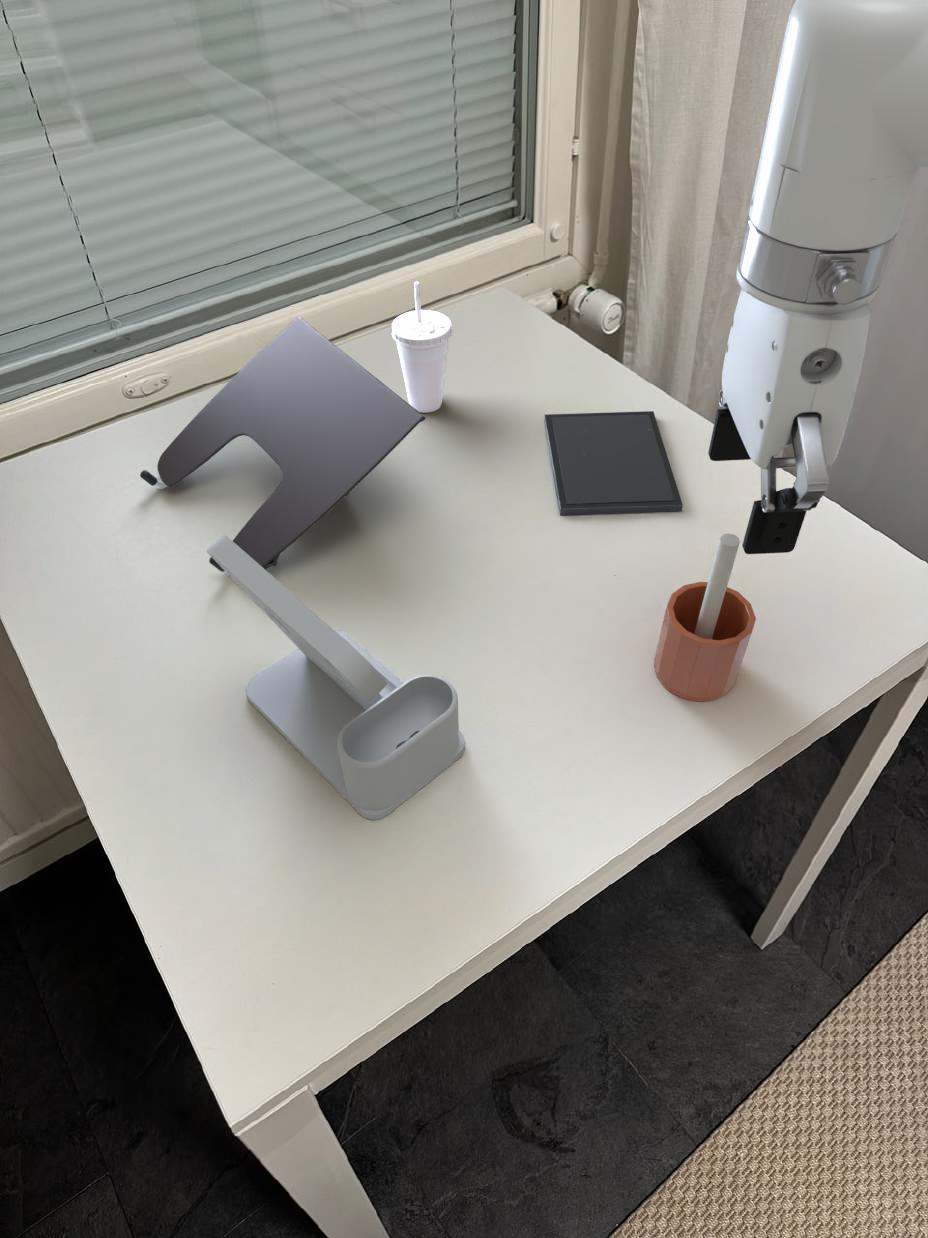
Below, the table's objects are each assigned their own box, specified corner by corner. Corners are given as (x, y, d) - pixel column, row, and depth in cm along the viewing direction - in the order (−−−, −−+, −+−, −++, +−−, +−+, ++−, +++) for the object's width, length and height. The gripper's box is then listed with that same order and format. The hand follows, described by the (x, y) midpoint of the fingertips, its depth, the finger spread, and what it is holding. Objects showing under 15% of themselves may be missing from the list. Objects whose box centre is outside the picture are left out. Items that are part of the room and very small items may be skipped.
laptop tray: (182, 504, 98) (124, 457, 90) (331, 359, 99) (287, 300, 91) (284, 627, 85) (227, 585, 78) (454, 460, 86) (415, 402, 78)
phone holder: (475, 750, 68) (475, 585, 55) (373, 832, 64) (347, 672, 51) (336, 629, 77) (308, 461, 64) (238, 693, 72) (185, 526, 59)
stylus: (701, 659, 74) (737, 532, 64) (704, 672, 73) (742, 545, 63) (684, 660, 74) (717, 533, 64) (687, 673, 73) (722, 546, 63)
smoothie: (433, 381, 103) (428, 264, 93) (465, 406, 100) (463, 288, 90) (386, 399, 101) (376, 281, 91) (417, 426, 97) (410, 306, 87)
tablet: (652, 416, 98) (653, 410, 98) (681, 511, 87) (683, 504, 87) (544, 420, 98) (544, 413, 97) (559, 515, 87) (560, 508, 86)
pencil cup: (724, 638, 76) (742, 579, 71) (744, 701, 71) (765, 643, 66) (647, 640, 76) (660, 582, 71) (662, 704, 71) (677, 646, 66)
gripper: (947, 334, 42) (844, 589, 55) (831, 186, 54) (768, 424, 66) (789, 341, 42) (722, 595, 55) (707, 192, 54) (668, 429, 66)
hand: (747, 501), depth 60 cm, fingers open, 9 cm apart
